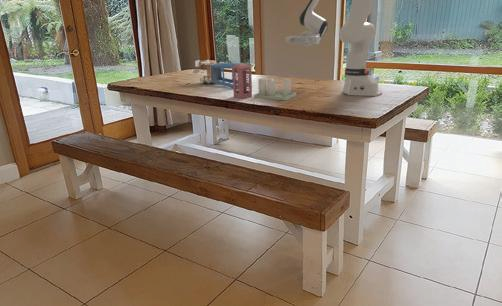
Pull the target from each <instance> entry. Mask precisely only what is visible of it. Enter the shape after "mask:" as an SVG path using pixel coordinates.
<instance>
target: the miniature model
mask: <svg viewBox="0 0 502 306" xmlns="http://www.w3.org/2000/svg"><path fill="white" fill-rule="evenodd" d="M239 63H240V64H235V65H233V66H232V67H231V68H232V69H233V83H232V84H233V88H232V89H233V97H234V98H237V99H239V100H243V99H249V98H253V84H252V68H253V67H252V65H248V64H244V63H245V62H239ZM232 69H231V70H232ZM246 71H247V72H246ZM246 74H247V75H246ZM246 76H247V78H246ZM237 82H238V84H237ZM248 83H249V85H247V84H248ZM237 87H238V89H237Z"/></svg>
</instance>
